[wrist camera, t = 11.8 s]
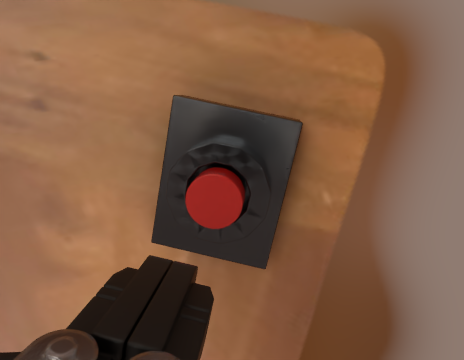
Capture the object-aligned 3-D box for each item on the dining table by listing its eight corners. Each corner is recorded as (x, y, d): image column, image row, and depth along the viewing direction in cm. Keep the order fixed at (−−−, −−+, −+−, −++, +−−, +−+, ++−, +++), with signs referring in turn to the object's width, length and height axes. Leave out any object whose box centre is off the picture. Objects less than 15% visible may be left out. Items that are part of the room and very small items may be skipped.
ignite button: (196, 161, 20) (190, 167, 18) (250, 173, 20) (248, 180, 18) (188, 212, 21) (180, 222, 19) (239, 223, 20) (236, 235, 19)
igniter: (182, 94, 23) (163, 94, 19) (300, 119, 22) (306, 125, 18) (160, 230, 25) (141, 254, 21) (265, 255, 25) (265, 284, 21)
